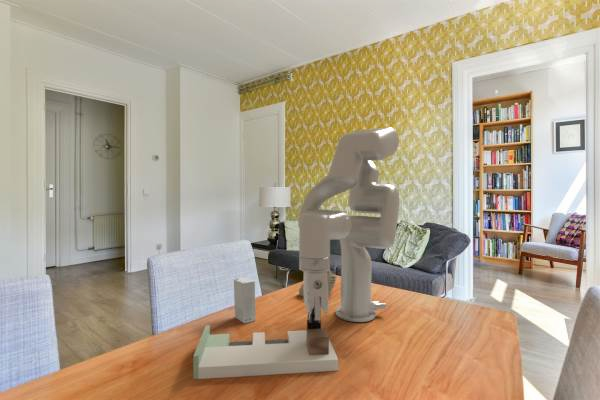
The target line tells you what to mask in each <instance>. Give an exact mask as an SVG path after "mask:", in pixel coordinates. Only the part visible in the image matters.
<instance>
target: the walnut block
mask: <svg viewBox="0 0 600 400" xmlns="http://www.w3.org/2000/svg"><path fill="white" fill-rule="evenodd" d="M306 330H307V340H306V346H307V349H308V353H309V355H326V354H329V340H330V336H329V335H328V332H327V330H326V328H325V327H323V328H321V329H307V328H306Z"/></svg>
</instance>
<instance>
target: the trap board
mask: <svg viewBox="0 0 600 400" xmlns="http://www.w3.org/2000/svg"><path fill="white" fill-rule="evenodd" d="M230 340H231V334H230V333H219V334H218V333H217V334H211V326H210V324H205V326H204V329H203V331H202V333H201V336H200V339H199V341H198V344H197V346H196V349H195V351H194V354H193V356H192V358H193V362H192V363H193V367H192V368H193V371H192V372H193V373H192V375H193V377H192V378H193V380H203V379H204V380H205V379H219V378H220V379H221V378H222V379H223V378H224V379H225V378H237V377H238V378H239V377H253V376H255V377H256V376H269V375H287V374H303V373H318V372H336V371H339V358H338V356H337V354H336V351H335V349H334V347H333V344H332V342H331V340H330V339H329V354H326V355H309V353H308V349H307V346H306V340H307V329H306V330H304V329H303V330H288V331H287V338H286V339H270V340H268V339H267V340H266V333H265V331H262V332H261V331H260V332H259V331H258V332H253V333H252V340H245V341H230Z"/></svg>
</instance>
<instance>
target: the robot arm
mask: <svg viewBox="0 0 600 400" xmlns="http://www.w3.org/2000/svg"><path fill="white" fill-rule="evenodd" d="M399 139H400V137H399V134H398V132H397V131H396V129H395V128H393V127H379V128H370V129H369V128H367V129H359V130H354V131H351V132H349V133H345V134H343V135H342V136H341V137H340V138H339V140H338V142H337V145H336V149H335V150H334V154H333V157H332V161H331V164H330V167H329V171H328V173H327V175H326V176H324V177H323V178H322V179H320V180H319V181H318V182H317V183H316V184H315V185H314V186H313V187H312V188H311V189H310V190H309V192H308V193H307V194H306V196H305V197H304V200H303V202H302V206H301V209H300V212H299V216H298V221H297V222H298V223H297V224H298V230H299V231H298V232H299V233H298V234H299V235H298V236H299V240H298V243H299V244H298V245H299V246H298V247H299V249H298V250H299V251H298V252H299V255H298V257H299V259H298V260H299V261H298V270H300V271H301V272H303V280H302V281H303V282H302V284H303V291H304V297H303V302H304V306H305V307H306V311H307V319H306V330H307V329H322V311H323V313H325V314H328V313H329V311H330V310H329V309H330V307H329V296H328V280H327V271H329V270H330V271H331V263H330V262H331V240H332V241H333V240H337V241H338V240H339V242H340V255H341V256H340V257H341V262H340V266H341V267H340V305H339V306H337V307H336V308H335V315H336V316H337V317H338V318H339V319H341V320H344V321H348V322H352V323H366V322H371V321H372V320H374V319H376V316H377V314H376V313H377V312H376V311H377V310H386V309H387V306H386V305H387V304H386V302H379V301H377V300H374V301H373V300H372V268H373V267H372V266H373V265H372V264H373V263H372V258H371V256H370V253H369V252H368V250H367V248H373V249H379V250H381V249H382V250H387V249H391V248H392V247H393V246H394V244H395V241H396V235H397V227H398V226H397V225H398V219H399V212H400V211H399V210H400V194H399V190H398V189H397V187H396V186H394V185H393V184H389V183H379V178H380V172H379V170H380V169H378V167H377V164H375V162H374V161H382V160H386V159H388V158H389V157H391V156H392V155H394V154H395V153H396V152H397V150H398V147H399V141H400V140H399ZM346 191H349V195H348V196H349V197H348V207H349V209H350V210H351V211H352V212H354V213H359V214H370V215H371V214H372V215H380V216H368V215H349V214H348V213H347V212H345V211H343V210H333V209H332V210H331V209H320V208H321V206H322V205H323V204H324V203H325V202H326V201H328V200H329V199H331V198H333V197H335V196H338V195H339V194H342V193H344V192H346Z"/></svg>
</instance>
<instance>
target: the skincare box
mask: <svg viewBox="0 0 600 400" xmlns="http://www.w3.org/2000/svg"><path fill="white" fill-rule="evenodd" d="M255 282H256V281H255V280H252V279H250V278H247V277H244V276H243V277H239V278H235V279H233V293H234V294H233V299H234V318H235V319H237V320H238V321H240V322H241V323H242V324H248V323H251V322H254V321H256V317H257V316H256V287H255V286H256V285H255V284H256V283H255Z"/></svg>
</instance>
